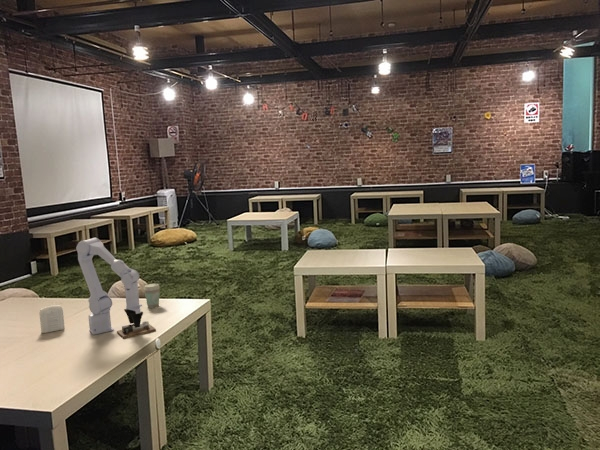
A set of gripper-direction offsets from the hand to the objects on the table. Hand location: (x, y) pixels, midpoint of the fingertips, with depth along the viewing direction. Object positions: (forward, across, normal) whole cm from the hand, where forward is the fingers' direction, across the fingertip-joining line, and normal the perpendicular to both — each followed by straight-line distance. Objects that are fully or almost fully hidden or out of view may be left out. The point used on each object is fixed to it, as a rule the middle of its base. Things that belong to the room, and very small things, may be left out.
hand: (134, 325), depth 236 cm
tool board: (+3, 0, 0) cm, 3 cm away
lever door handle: (+2, 0, 0) cm, 2 cm away
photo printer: (+4, +30, +30) cm, 43 cm away
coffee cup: (+4, +36, -21) cm, 41 cm away
